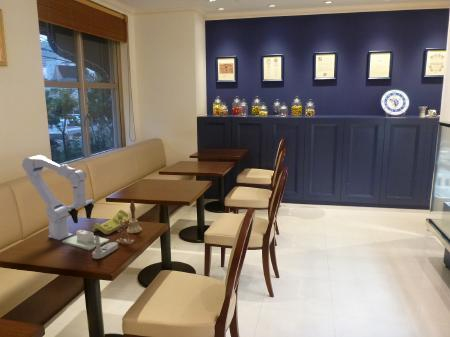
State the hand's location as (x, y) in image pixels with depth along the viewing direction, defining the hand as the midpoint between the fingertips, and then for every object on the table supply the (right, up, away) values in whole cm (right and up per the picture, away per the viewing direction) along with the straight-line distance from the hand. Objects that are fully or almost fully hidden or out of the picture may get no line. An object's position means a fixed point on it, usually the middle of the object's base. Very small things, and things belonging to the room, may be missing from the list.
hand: (82, 220), depth 188 cm
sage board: (+3, -10, -3) cm, 11 cm away
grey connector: (+4, -9, -4) cm, 11 cm away
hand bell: (+24, -7, +11) cm, 27 cm away
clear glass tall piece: (+23, -10, -5) cm, 26 cm away
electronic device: (+17, -13, -16) cm, 27 cm away
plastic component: (+11, -7, +15) cm, 20 cm away
